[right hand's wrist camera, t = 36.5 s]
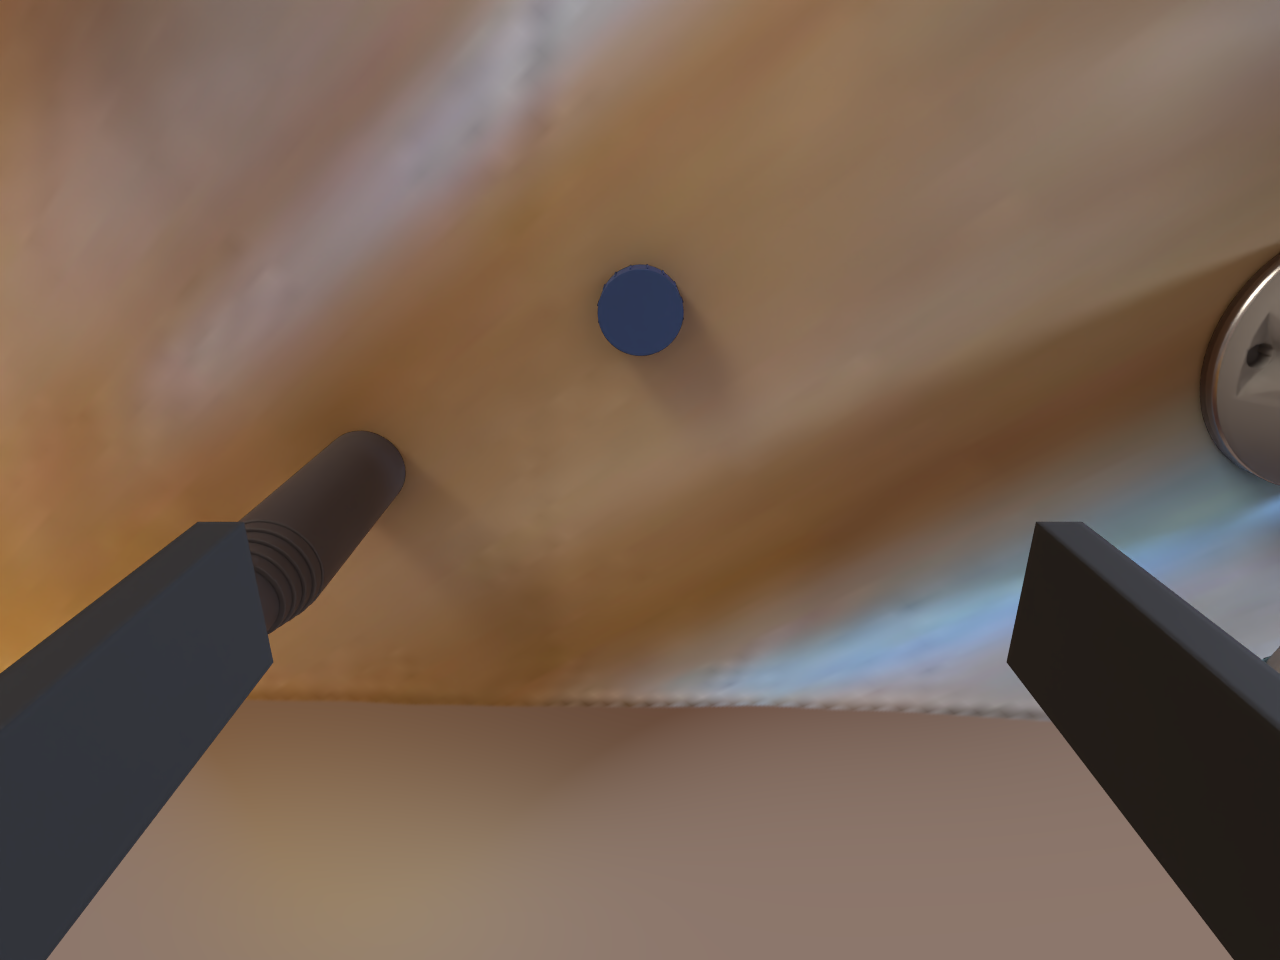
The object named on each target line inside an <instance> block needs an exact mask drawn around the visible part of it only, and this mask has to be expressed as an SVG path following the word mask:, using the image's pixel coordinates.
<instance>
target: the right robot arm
mask: <svg viewBox="0 0 1280 960" xmlns="http://www.w3.org/2000/svg"><path fill="white" fill-rule="evenodd" d="M1200 401H1201V409H1202V414H1203V418H1204V421H1205V424H1206V427H1207V430H1208V432H1209V434H1210V436H1211V438H1212V440H1213V441H1214V442H1215V444H1216V445H1217V447H1218V448H1219V449H1220V451H1221V452H1222V453H1223V454H1224V455H1225V456H1226V457H1227V458H1228V459H1229V460H1231V461H1232V462H1233V463H1234V464H1236V465H1237V466H1239V467H1240V468H1242V469H1243V470H1246V471H1248V472H1250V473H1252V474H1254V475H1256V476H1258V477H1260V478H1262V479H1264V480H1266V481H1268V482H1271V483H1274V484H1277V485H1279V486H1280V253H1279V254H1278V255H1276V256H1275V257H1274V258H1272V259H1271V260H1270V261H1269V262H1268V263H1267V264H1265V265H1264V266H1263V267H1262V268H1261V269H1260V270H1259V271H1258V272H1257V273H1256V274H1255V275H1254V276H1253V277H1252V278H1251V279H1250V280H1249V281H1248V282H1247V283H1246V284H1245V286H1244V287H1243V288H1242V289H1241V290H1240V291H1239V293H1238V294H1237V295H1236V297H1235V298H1234V299H1233V301H1232V302H1231V303H1230V305H1229V306H1228V308H1227V309H1226V311H1225V313H1224V314H1223V316H1222V317H1221V319H1220V321H1219V323H1218V325H1217V327H1216V329H1215V331H1214V333H1213V335H1212V338H1211V340H1210V343H1209V345H1208V348H1207V352H1206V355H1205V358H1204V362H1203V367H1202V372H1201V381H1200ZM272 663H273V658H272V653H271V648H270V644H269V639H268V634H267V629H266V625H265V620H264V615H263V610H262V606H261V601H260V596H259V591H258V586H257V582H256V577H255V572H254V567H253V563H252V558H251V553H250V548H249V543H248V539H247V534H246V529H245V524H244V522H197V523H196V524H194V525H193V526H192V527H191V528H189V529H188V530H187V531H185V532H184V533H183V534H181V535H180V536H179V537H178V538H176V539H175V540H174V541H172V542H171V543H170V544H168V545H167V546H166V547H165V548H163V549H162V550H161V551H159V552H158V553H157V554H155V555H154V556H153V557H152V558H150V559H149V560H148V561H146V562H145V563H144V564H142V565H141V566H140V567H138V568H137V569H136V570H135V571H133V572H132V573H131V574H129V575H128V576H127V577H125V578H124V579H123V580H122V581H120V582H119V583H118V584H116V585H115V586H114V587H112V588H111V589H110V590H109V591H107V592H106V593H105V594H103V595H102V596H101V597H99V598H98V599H97V600H96V601H94V602H93V603H92V604H90V605H89V606H88V607H86V608H85V609H84V610H82V611H81V612H80V613H79V614H77V615H76V616H75V617H73V618H72V619H71V620H69V621H68V622H67V623H66V624H64V625H63V626H62V627H60V628H59V629H58V630H56V631H55V632H54V633H53V634H51V635H50V636H49V637H47V638H46V639H45V640H43V641H42V642H41V643H40V644H38V645H37V646H36V647H34V648H33V649H32V650H30V651H29V652H28V653H26V654H25V655H24V656H23V657H21V658H20V659H19V660H17V661H16V662H15V663H13V664H12V665H11V666H10V667H8V668H7V669H6V670H4V671H3V672H2V673H0V960H46V959H47V958H48V956H49V955H50V954H51V953H52V951H53V950H54V949H55V947H56V946H57V945H58V943H59V942H60V941H61V939H62V938H63V937H64V936H65V934H66V933H67V932H68V930H69V929H70V928H71V926H72V925H73V924H74V923H75V921H76V920H77V919H78V917H79V916H80V915H81V913H82V912H83V911H84V909H85V908H86V907H87V906H88V904H89V903H90V902H91V900H92V899H93V898H94V896H95V895H96V894H97V892H98V891H99V890H100V888H101V887H102V886H103V885H104V883H105V882H106V881H107V879H108V878H109V877H110V875H111V874H112V873H113V871H114V870H115V869H116V867H117V866H118V865H119V864H120V862H121V861H122V860H123V858H124V857H125V856H126V854H127V853H128V852H129V851H130V849H131V848H132V847H133V845H134V844H135V843H136V841H137V840H138V839H139V837H140V836H141V835H142V834H143V832H144V831H145V829H146V828H147V827H148V826H149V824H150V823H151V822H152V820H153V819H154V818H155V817H156V815H157V814H158V813H159V811H160V810H161V809H162V807H163V806H164V805H165V803H166V802H167V801H168V799H169V798H170V797H171V796H172V794H173V793H174V792H175V790H176V789H177V788H178V786H179V785H180V784H181V782H182V781H183V780H184V779H185V777H186V776H187V775H188V773H189V772H190V771H191V769H192V768H193V767H194V765H195V764H196V763H197V761H198V760H199V759H200V758H201V756H202V755H203V754H204V752H205V751H206V750H207V748H208V747H209V746H210V745H211V743H212V742H213V741H214V739H215V738H216V737H217V735H218V734H219V733H220V731H221V730H222V729H223V728H224V726H225V725H226V724H227V722H228V721H229V720H230V718H231V717H232V716H233V714H234V713H235V712H236V710H237V709H238V708H239V707H240V705H241V704H242V703H243V701H244V700H245V699H246V697H247V696H248V695H249V693H250V692H251V691H252V690H253V688H254V687H255V686H256V684H257V683H258V682H259V680H260V679H261V678H262V676H263V675H264V674H265V673H266V671H267V670H268V669H269V667H270V666H271V665H272ZM1007 663H1008V665H1009V666H1010V667H1011V669H1012V670H1013V671H1014V673H1015V674H1016V675H1017V676H1018V678H1019V679H1020V680H1021V682H1022V683H1023V684H1024V686H1025V687H1026V688H1027V690H1028V691H1029V692H1030V693H1031V695H1032V696H1033V697H1034V699H1035V700H1036V701H1037V703H1038V704H1039V705H1040V707H1041V708H1042V709H1043V710H1044V712H1045V713H1046V714H1047V716H1048V717H1049V718H1050V720H1051V721H1052V722H1053V724H1054V725H1055V726H1056V728H1057V729H1058V730H1059V731H1060V733H1061V734H1062V735H1063V737H1064V738H1065V739H1066V741H1067V742H1068V743H1069V744H1070V746H1071V747H1072V748H1073V750H1074V751H1075V752H1076V754H1077V755H1078V756H1079V758H1080V759H1081V760H1082V762H1083V763H1084V764H1085V765H1086V767H1087V768H1088V769H1089V771H1090V772H1091V773H1092V775H1093V776H1094V777H1095V778H1096V780H1097V781H1098V782H1099V784H1100V785H1101V786H1102V788H1103V789H1104V790H1105V792H1106V793H1107V794H1108V796H1109V797H1110V798H1111V799H1112V801H1113V802H1114V803H1115V805H1116V806H1117V807H1118V809H1119V810H1120V811H1121V813H1122V814H1123V815H1124V817H1125V818H1126V819H1127V820H1128V822H1129V823H1130V824H1131V826H1132V827H1133V828H1134V830H1135V831H1136V832H1137V833H1138V835H1139V836H1140V837H1141V839H1142V840H1143V841H1144V843H1145V844H1146V845H1147V847H1148V848H1149V849H1150V851H1151V852H1152V853H1153V854H1154V856H1155V857H1156V858H1157V860H1158V861H1159V862H1160V864H1161V865H1162V866H1163V868H1164V869H1165V870H1166V871H1167V873H1168V874H1169V875H1170V877H1171V878H1172V879H1173V881H1174V882H1175V883H1176V885H1177V886H1178V887H1179V888H1180V890H1181V891H1182V892H1183V894H1184V895H1185V896H1186V898H1187V899H1188V900H1189V902H1190V903H1191V904H1192V906H1193V907H1194V908H1195V909H1196V911H1197V912H1198V913H1199V915H1200V916H1201V917H1202V919H1203V920H1204V921H1205V922H1206V924H1207V925H1208V926H1209V928H1210V929H1211V930H1212V932H1213V933H1214V934H1215V936H1216V937H1217V938H1218V940H1219V941H1220V942H1221V943H1222V945H1223V946H1224V947H1225V949H1226V950H1227V951H1228V953H1229V954H1230V955H1231V957H1232V958H1233V959H1234V960H1280V647H1279V648H1278V649H1277V650H1276V651H1275V652H1274V653H1273V654H1272V655H1271V656H1269V657H1266V658H1264V659H1263V660H1261V659H1260V658H1259V657H1257V656H1256V655H1255V654H1254V653H1252V652H1251V651H1250V650H1248V649H1247V648H1246V647H1244V646H1243V645H1242V644H1240V643H1239V642H1238V641H1237V640H1235V639H1234V638H1233V637H1231V636H1230V635H1229V634H1227V633H1226V632H1225V631H1224V630H1222V629H1221V628H1220V627H1218V626H1217V625H1216V624H1214V623H1213V622H1212V621H1211V620H1209V619H1208V618H1207V617H1205V616H1204V615H1203V614H1201V613H1200V612H1199V611H1198V610H1196V609H1195V608H1194V607H1192V606H1191V605H1190V604H1188V603H1187V602H1186V601H1184V600H1183V599H1182V598H1181V597H1179V596H1178V595H1177V594H1175V593H1174V592H1173V591H1171V590H1170V589H1169V588H1168V587H1166V586H1165V585H1164V584H1162V583H1161V582H1160V581H1158V580H1157V579H1156V578H1155V577H1153V576H1152V575H1151V574H1149V573H1148V572H1147V571H1145V570H1144V569H1143V568H1142V567H1140V566H1139V565H1138V564H1136V563H1135V562H1134V561H1132V560H1131V559H1130V558H1128V557H1127V556H1126V555H1125V554H1123V553H1122V552H1121V551H1119V550H1118V549H1117V548H1115V547H1114V546H1113V545H1112V544H1110V543H1109V542H1108V541H1106V540H1105V539H1104V538H1102V537H1101V536H1100V535H1099V534H1097V533H1096V532H1095V531H1093V530H1092V529H1091V528H1089V527H1088V526H1087V525H1086V524H1084V523H1083V522H1036V524H1035V529H1034V534H1033V539H1032V543H1031V548H1030V553H1029V558H1028V563H1027V567H1026V572H1025V577H1024V582H1023V586H1022V591H1021V596H1020V601H1019V606H1018V610H1017V615H1016V620H1015V625H1014V629H1013V634H1012V639H1011V644H1010V648H1009V653H1008V658H1007Z"/></svg>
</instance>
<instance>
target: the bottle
mask: <svg viewBox="0 0 1280 960" xmlns="http://www.w3.org/2000/svg"><path fill="white" fill-rule="evenodd" d="M404 481H405V466H404V462H403V459H402V457H401V455H400V453H399V452H398V450H397V449H396V448H395V447H394V445H393V444H392V443H390V442H389V441H388V440H387V439H385V438H383V437H382V436H380V435H377V434H375V433H371V432H367V431H353V432H349V433H346V434H343V435H341V436H340V437H338V438H337V439H336V440H334V441H333V442H332V443H331V444H330V445H328V446H327V447H326V448H325V449H324V450H323V451H321V452H320V453H319V454H318V455H317V456H315V457H314V458H313V459H312V460H311V461H310V462H308V463H307V464H306V465H305V466H304V467H302V468H301V469H300V470H299V471H298V472H297V473H295V474H294V475H293V476H292V477H291V478H289V479H288V480H287V481H286V482H285V483H283V484H282V485H281V486H280V487H279V488H278V489H276V490H275V491H274V492H273V493H272V494H270V495H269V496H268V497H267V498H266V499H265V500H263V501H262V502H261V503H260V504H259V505H257V506H256V507H255V508H254V509H253V510H252V511H250V512H249V513H248V514H247V515H246V516H244V517H243V518H242V519H241V520H240V521H239V522H244V524H245V529H246V534H247V539H248V543H249V548H250V553H251V558H252V563H253V567H254V572H255V577H256V582H257V586H258V591H259V596H260V601H261V606H262V610H263V615H264V620H265V625H266V629H267V634H270V633H272V632H273V631H274V630H276V629H277V628H278V627H280V626H282V625H283V624H285V623H286V622H288V621H290V620H291V619H293V618H294V617H295V616H297V615H299V614H300V613H302V612H303V611H304V610H305V609H306V608H307V607H308V606H309V605H311V604H312V603H313V602H314V601H315V600H316V599H317V597H318V596H319V595H320V593H321V592H322V591H323V590H324V588H325V587H326V586H327V584H328V583H329V582H330V581H331V579H332V578H333V577H334V575H335V574H336V573H337V572H338V570H339V569H340V568H341V566H342V565H343V564H344V563H345V561H346V560H347V559H348V557H349V556H350V555H351V554H352V552H353V551H354V550H355V548H356V547H357V546H358V545H359V543H360V542H361V541H362V539H363V538H364V537H365V536H366V534H367V533H368V532H369V530H370V529H371V528H372V527H373V525H374V524H375V523H376V521H377V520H378V519H379V518H380V516H381V515H382V514H383V512H384V511H385V510H386V509H387V507H388V506H389V505H390V503H391V502H392V501H393V500H394V498H395V497H396V496H397V494H398V493H399V492H400V490H401V488H402V487H403V484H404Z"/></svg>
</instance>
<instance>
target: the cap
mask: <svg viewBox="0 0 1280 960" xmlns="http://www.w3.org/2000/svg"><path fill="white" fill-rule="evenodd" d="M682 303H683V300H682V297H680V294H679V291H678V289H677V286H676V283H675V281H674V282H673V280H672V279H671V278H670V277H669V276H668V275H667V274H666V273H664V271H663V270H662V271H661V270H660V269H657V268H655V267H652V266H648V264H647V265H633V266H632V265H630V266H629V267H626V268H623V269H622V270H620V271H618V272H615V274H614V275H613V276H612V277H611V278H610V279H609V281H608V282H607V283H606V284H605V285H604V287H603V291H602V294H601V297H600V300H599V301H598V304H597V306H598V323H599V325H600V328H601V330H602V332H603V334H604V336H605V337H606V339H607V340H608V341H609V342H610V343H611V344H612V345H613V346H614V347H615V348H617V349H619V350H620V351H622V352H624V353H627V354H630V355H636V356H645V355H651V354H654V353H657V352H659V351H661V350H663V349H664V348H666V347H667V346H668V345H669V344H670V343H671V342H672V341H673V340H674V339H675V338H676V336H677V335H678V333H679V330H680V328H681V325H682V321H683V319H684V318H683V304H682Z"/></svg>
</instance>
